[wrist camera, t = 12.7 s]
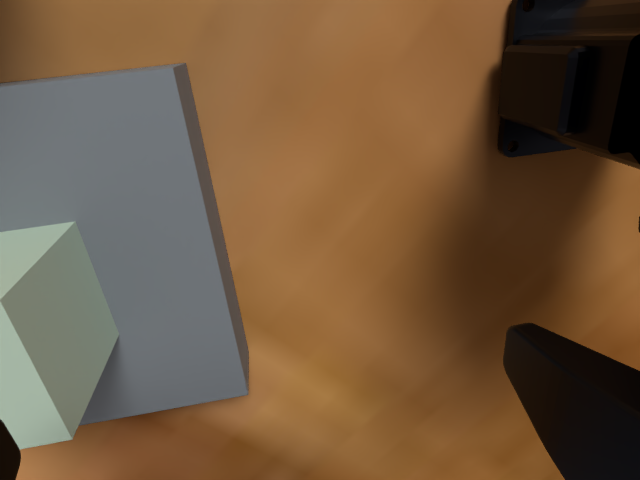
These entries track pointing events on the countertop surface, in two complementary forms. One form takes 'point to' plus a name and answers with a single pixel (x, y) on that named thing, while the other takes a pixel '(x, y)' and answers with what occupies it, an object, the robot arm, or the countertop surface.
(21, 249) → the green cube
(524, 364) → the robot arm
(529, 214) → the countertop surface
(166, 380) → the base
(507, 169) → the countertop surface
